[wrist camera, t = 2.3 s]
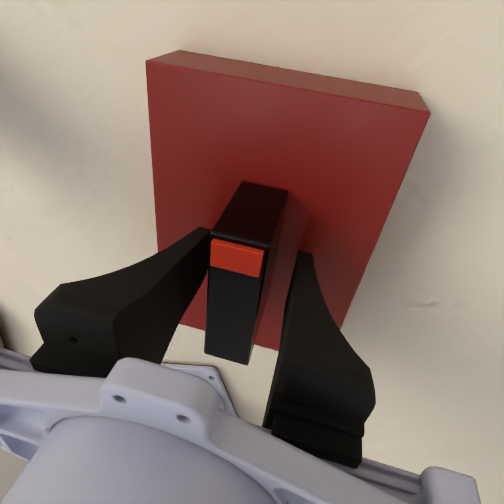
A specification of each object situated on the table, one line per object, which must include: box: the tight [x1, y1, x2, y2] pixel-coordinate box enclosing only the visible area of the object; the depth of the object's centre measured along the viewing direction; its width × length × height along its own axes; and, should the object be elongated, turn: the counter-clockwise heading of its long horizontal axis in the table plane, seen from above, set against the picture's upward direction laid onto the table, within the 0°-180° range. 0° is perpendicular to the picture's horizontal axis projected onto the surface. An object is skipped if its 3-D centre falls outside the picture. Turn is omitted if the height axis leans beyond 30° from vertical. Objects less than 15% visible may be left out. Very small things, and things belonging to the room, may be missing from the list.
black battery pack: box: [204, 181, 289, 365], centre depth 14 cm, size 6×2×4 cm, turn 174°
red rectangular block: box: [146, 50, 430, 351], centre depth 17 cm, size 14×10×3 cm
